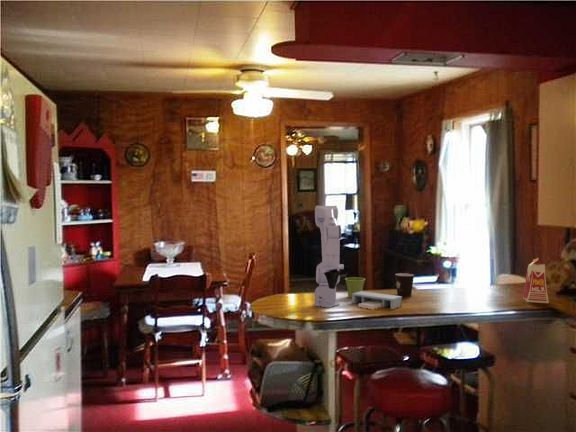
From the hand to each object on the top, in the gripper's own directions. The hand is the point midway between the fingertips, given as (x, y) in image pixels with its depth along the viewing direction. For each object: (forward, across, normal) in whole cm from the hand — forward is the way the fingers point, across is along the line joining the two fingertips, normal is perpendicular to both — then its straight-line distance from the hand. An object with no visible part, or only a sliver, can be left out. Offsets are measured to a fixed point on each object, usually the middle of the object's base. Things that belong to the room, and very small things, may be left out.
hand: (332, 288), depth 232 cm
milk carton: (+10, +81, -58) cm, 100 cm away
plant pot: (+10, +35, +10) cm, 38 cm away
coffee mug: (+10, +55, -5) cm, 56 cm away
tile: (+10, +22, -6) cm, 26 cm away
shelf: (+10, +27, -6) cm, 29 cm away
